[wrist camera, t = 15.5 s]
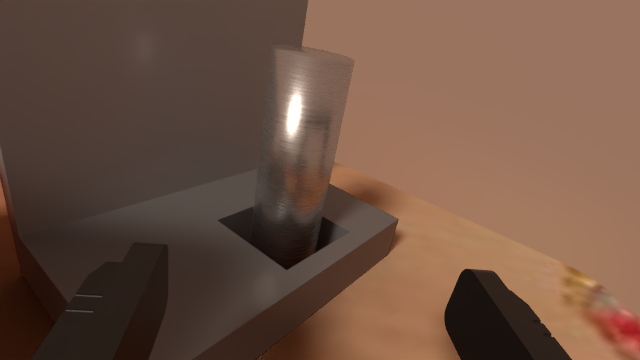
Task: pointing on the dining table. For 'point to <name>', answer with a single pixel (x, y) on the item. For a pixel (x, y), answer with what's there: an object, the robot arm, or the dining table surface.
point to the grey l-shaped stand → (162, 164)
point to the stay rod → (297, 149)
